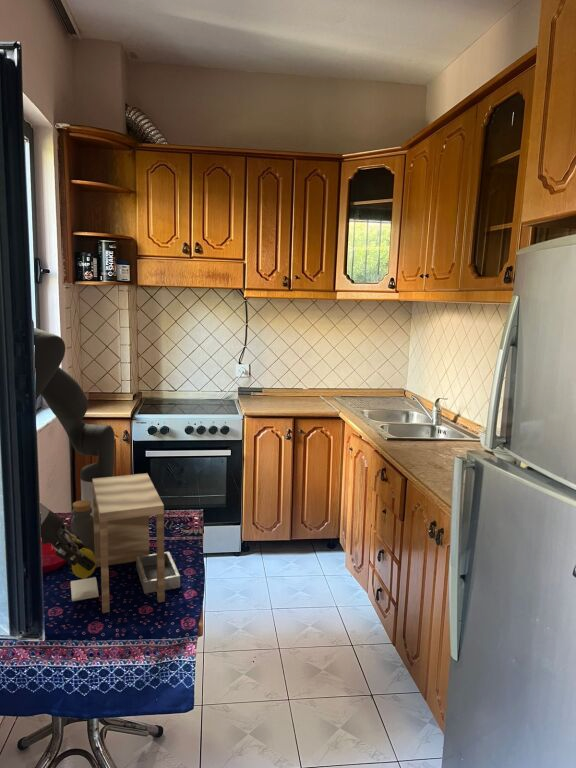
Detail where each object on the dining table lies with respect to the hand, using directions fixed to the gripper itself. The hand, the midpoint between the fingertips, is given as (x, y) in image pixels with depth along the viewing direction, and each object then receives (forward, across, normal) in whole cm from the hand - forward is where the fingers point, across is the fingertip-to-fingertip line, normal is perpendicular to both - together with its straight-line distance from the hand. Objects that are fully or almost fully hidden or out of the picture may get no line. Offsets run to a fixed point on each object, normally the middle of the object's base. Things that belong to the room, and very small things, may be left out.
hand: (91, 561), depth 135 cm
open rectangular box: (+16, 0, -6) cm, 17 cm away
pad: (+4, 0, +6) cm, 7 cm away
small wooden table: (+11, 0, -1) cm, 11 cm away
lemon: (+2, 0, +4) cm, 5 cm away
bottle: (+4, +19, +6) cm, 20 cm away
